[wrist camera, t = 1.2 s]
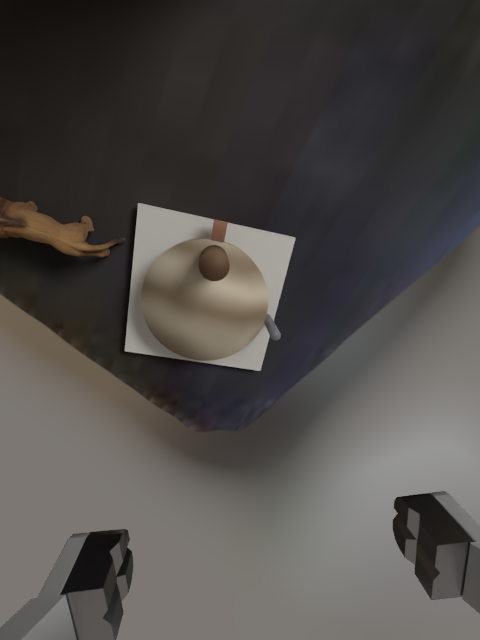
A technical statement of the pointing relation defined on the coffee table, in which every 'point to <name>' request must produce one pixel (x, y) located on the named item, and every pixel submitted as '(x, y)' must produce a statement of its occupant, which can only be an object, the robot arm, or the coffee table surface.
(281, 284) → the post base
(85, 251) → the lion figurine
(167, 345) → the beige round knobbed piece
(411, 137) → the coffee table surface
